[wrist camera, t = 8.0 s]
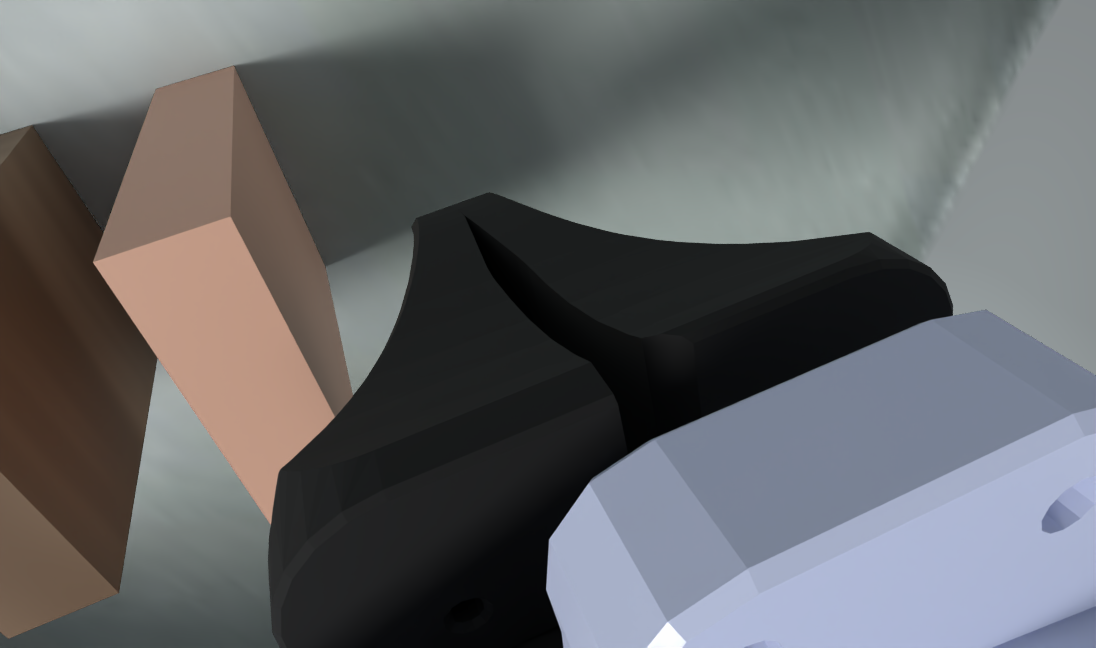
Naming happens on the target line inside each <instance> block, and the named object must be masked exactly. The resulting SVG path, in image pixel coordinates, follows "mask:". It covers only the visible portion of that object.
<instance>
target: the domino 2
mask: <svg viewBox="0 0 1096 648" xmlns="http://www.w3.org/2000/svg"><path fill="white" fill-rule="evenodd" d="M93 263H94V265H95V266H96V268H97V269H98V270H99V272H100V273H101V275H102V276H103V278H104V279H105V281H106V282H107V284H108V285H109V287H110V288H111V290H112V291H113V293H114V294H115V296H116V297H117V299H118V300H119V301H120V303H121V304H122V306H123V307H124V309H125V310H126V312H127V313H128V315H129V316H130V318H131V319H132V321H133V322H134V324H135V325H136V327H137V328H138V330H139V331H140V332H141V334H142V335H143V337H144V338H145V340H146V341H147V343H148V344H149V346H150V347H151V349H152V350H153V352H154V353H155V355H156V356H157V358H158V359H159V361H160V362H161V364H162V365H163V366H164V368H165V369H166V371H167V372H168V374H169V375H170V377H171V378H172V380H173V381H174V383H175V384H176V386H177V387H178V389H179V390H180V392H181V393H182V395H183V396H184V397H185V399H186V400H187V402H188V403H189V405H190V406H191V408H192V409H193V411H194V412H195V414H196V415H197V417H198V418H199V420H200V421H201V423H202V424H203V426H204V427H205V428H206V430H207V431H208V433H209V434H210V436H211V437H212V439H213V440H214V442H215V443H216V445H217V446H218V448H219V449H220V451H221V452H222V454H223V455H224V457H225V458H226V459H227V461H228V462H229V464H230V465H231V467H232V468H233V470H234V471H235V473H236V474H237V476H238V477H239V479H240V480H241V482H242V483H243V485H244V486H245V488H246V489H247V490H248V492H249V493H250V495H251V496H252V498H253V499H254V501H255V502H256V504H257V505H258V507H259V508H260V510H261V511H262V513H263V514H264V516H265V517H266V519H267V520H268V521H269V523H270V524H271V520H272V511H273V504H274V497H275V490H276V484H277V478H278V473H279V471H280V469H281V468H282V467H283V466H285V465H286V464H287V463H288V462H289V461H290V460H292V459H293V458H294V457H295V456H296V455H297V454H298V453H299V452H300V451H301V450H302V449H303V448H304V447H305V446H306V445H307V444H308V443H309V442H311V441H312V440H313V439H314V438H315V437H316V436H317V435H318V434H319V433H320V432H321V431H322V430H323V429H324V428H325V427H326V426H327V425H328V424H329V423H330V422H331V421H332V420H333V419H334V418H335V417H336V415H337V414H338V413H339V412H340V411H341V410H342V408H343V407H344V406H345V405H346V404H347V403H348V401H349V400H350V399H351V398H352V397H353V394H352V389H351V385H350V380H349V375H348V371H347V366H346V361H345V357H344V352H343V347H342V342H341V338H340V333H339V328H338V324H337V319H336V314H335V310H334V305H333V300H332V296H331V291H330V286H329V281H328V277H327V272H326V267H325V265H324V263H323V261H322V258H321V256H320V254H319V252H318V250H317V247H316V245H315V243H314V241H313V238H312V236H311V234H310V232H309V230H308V227H307V225H306V223H305V221H304V219H303V216H302V214H301V212H300V210H299V208H298V205H297V203H296V201H295V199H294V197H293V194H292V192H291V190H290V188H289V186H288V183H287V181H286V179H285V177H284V175H283V172H282V170H281V168H280V166H279V164H278V161H277V159H276V157H275V155H274V153H273V150H272V148H271V146H270V144H269V142H268V139H267V137H266V135H265V133H264V131H263V128H262V126H261V124H260V122H259V120H258V117H257V115H256V113H255V111H254V109H253V106H252V104H251V102H250V100H249V98H248V95H247V93H246V91H245V89H244V87H243V84H242V82H241V80H240V78H239V76H238V73H237V71H236V69H235V67H234V66H231V67H228V68H225V69H221V70H218V71H215V72H211V73H208V74H205V75H201V76H198V77H194V78H191V79H188V80H184V81H181V82H178V83H174V84H171V85H168V86H164V87H161V88H158V89H156V90H155V93H154V96H153V98H152V101H151V104H150V107H149V109H148V112H147V115H146V118H145V120H144V123H143V126H142V129H141V131H140V134H139V137H138V140H137V142H136V145H135V148H134V151H133V153H132V156H131V159H130V162H129V164H128V167H127V170H126V173H125V175H124V178H123V181H122V184H121V186H120V189H119V192H118V195H117V197H116V200H115V203H114V206H113V208H112V211H111V214H110V217H109V219H108V222H107V225H106V228H105V230H104V233H103V236H102V239H101V241H100V244H99V247H98V250H97V252H96V255H95V258H94V261H93Z"/></svg>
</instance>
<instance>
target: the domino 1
mask: <svg viewBox="0 0 1096 648" xmlns="http://www.w3.org/2000/svg"><path fill="white" fill-rule="evenodd" d="M102 236H103V232H102V230H101V229H100V227H99V226H98V224H97V223H96V221H95V220H94V218H93V217H92V215H91V214H90V212H89V211H88V209H87V208H86V206H85V205H84V203H83V201H82V200H81V198H80V197H79V195H78V194H77V192H76V191H75V189H74V188H73V186H72V185H71V183H70V182H69V180H68V179H67V177H66V176H65V174H64V173H63V171H62V170H61V168H60V167H59V165H58V164H57V162H56V161H55V159H54V158H53V156H52V155H51V153H50V152H49V150H48V148H47V147H46V145H45V144H44V142H43V141H42V139H41V138H40V136H39V135H38V133H37V132H36V130H35V129H34V127H33V126H32V125H31V126H27V127H24V128H21V129H18V130H14V131H11V132H8V133H4V134H1V135H0V632H1V633H2V634H3V635H4V636H6V637H7V638H8V639H9V638H12V637H14V636H16V635H19V634H21V633H24V632H26V631H28V630H31V629H33V628H36V627H38V626H41V625H43V624H45V623H48V622H50V621H53V620H55V619H57V618H60V617H62V616H65V615H67V614H69V613H72V612H74V611H77V610H79V609H81V608H84V607H86V606H89V605H91V604H94V603H96V602H98V601H101V600H103V599H106V598H108V597H110V596H113V595H115V594H118V593H119V589H120V583H121V577H122V571H123V565H124V559H125V552H126V546H127V540H128V534H129V528H130V522H131V516H132V510H133V504H134V498H135V491H136V485H137V479H138V473H139V467H140V461H141V455H142V449H143V443H144V437H145V430H146V424H147V418H148V412H149V406H150V400H151V394H152V388H153V382H154V376H155V369H156V363H157V356H156V355H155V353H154V352H153V350H152V349H151V347H150V346H149V344H148V343H147V341H146V340H145V338H144V337H143V335H142V334H141V332H140V331H139V330H138V328H137V327H136V325H135V324H134V322H133V321H132V319H131V318H130V316H129V315H128V313H127V312H126V310H125V309H124V307H123V306H122V304H121V303H120V301H119V300H118V299H117V297H116V296H115V294H114V293H113V291H112V290H111V288H110V287H109V285H108V284H107V282H106V281H105V279H104V278H103V276H102V275H101V273H100V272H99V270H98V269H97V268H96V266H95V265H94V263H93V261H94V258H95V255H96V252H97V250H98V247H99V244H100V241H101V239H102Z"/></svg>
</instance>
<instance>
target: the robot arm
mask: <svg viewBox="0 0 1096 648" xmlns="http://www.w3.org/2000/svg"><path fill="white" fill-rule="evenodd" d="M412 230H413V234H414V249H413V259H412V265H411V271H410V277H409V282H408V286H407V289H406V293H405V296H404V300H403V303H402V307H401V310H400V313H399V316H398V318H397V321H396V324H395V326H394V328H393V331H392V333H391V335H390V337H389V340H388V342H387V344H386V346H385V348H384V350H383V352H382V354H381V355H380V357H379V359H378V360H377V362H376V364H375V365H374V367H373V369H372V370H371V372H370V373H369V375H368V377H367V378H366V379H365V381H364V382H363V384H362V385H361V386H360V387H359V389H358V390H357V391H356V393H355V394H354V395H353V397H352V398H351V399H350V400H349V401H348V403H347V404H346V405H345V406H344V407H343V408H342V410H341V411H340V412H339V413H338V414H337V415H336V417H335V418H334V419H333V420H332V421H331V422H330V423H329V424H328V425H327V426H326V427H325V428H324V429H323V430H322V431H321V432H320V433H319V434H318V435H317V436H316V437H315V438H314V439H313V440H312V441H311V442H309V443H308V444H307V445H306V446H305V447H304V448H303V449H302V450H301V451H300V452H299V453H298V454H297V455H296V456H295V457H294V458H293V459H292V460H290V461H289V462H288V463H287V464H286V465H285V466H283V467H282V468H281V469H280V471H279V473H278V478H277V484H276V490H275V497H274V504H273V511H272V520H271V528H270V535H269V551H268V569H269V586H270V602H271V618H272V633H273V635H274V637H275V639H276V641H277V643H278V645H279V646H280V648H1096V375H1094V374H1093V373H1091V372H1089V371H1088V370H1086V369H1084V368H1083V367H1081V366H1079V365H1078V364H1076V363H1074V362H1073V361H1071V360H1069V359H1068V358H1066V357H1064V356H1063V355H1061V354H1059V353H1058V352H1056V351H1054V350H1053V349H1051V348H1049V347H1048V346H1046V345H1044V344H1043V343H1041V342H1039V341H1037V340H1036V339H1034V338H1033V337H1031V336H1029V335H1028V334H1026V333H1024V332H1023V331H1021V330H1019V329H1017V328H1016V327H1014V326H1013V325H1011V324H1009V323H1008V322H1006V321H1004V320H1002V319H1001V318H999V317H997V316H996V315H994V314H993V313H991V312H989V311H988V310H981V311H976V312H971V313H965V314H960V315H955V316H953V304H952V301H951V298H950V295H949V292H948V289H947V286H946V283H945V282H944V281H942V279H941V278H940V277H939V276H938V275H937V274H936V273H935V272H934V271H933V270H932V269H931V268H930V267H928V266H927V265H925V264H923V263H922V262H920V261H918V260H917V259H915V258H913V257H911V256H910V255H908V254H906V253H905V252H903V251H901V250H900V249H898V248H896V247H894V246H893V245H891V244H889V243H888V242H886V241H884V240H883V239H881V238H879V237H877V236H876V235H874V234H872V233H870V232H865V233H857V234H849V235H841V236H833V237H825V238H817V239H809V240H801V241H791V242H775V243H753V244H707V243H688V242H673V241H663V240H655V239H648V238H642V237H635V236H629V235H623V234H618V233H613V232H608V231H604V230H600V229H597V228H593V227H589V226H585V225H581V224H578V223H575V222H571V221H568V220H565V219H562V218H559V217H556V216H553V215H550V214H547V213H544V212H541V211H539V210H536V209H533V208H531V207H528V206H525V205H523V204H520V203H518V202H515V201H512V200H510V199H507V198H505V197H502V196H499V195H497V194H494V193H490V192H489V193H486V194H483V195H480V196H477V197H475V198H472V199H469V200H466V201H463V202H460V203H458V204H455V205H452V206H449V207H446V208H444V209H441V210H438V211H435V212H432V213H430V214H427V215H424V216H421V217H418V218H416V220H415V222H414V223H413V225H412Z"/></svg>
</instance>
